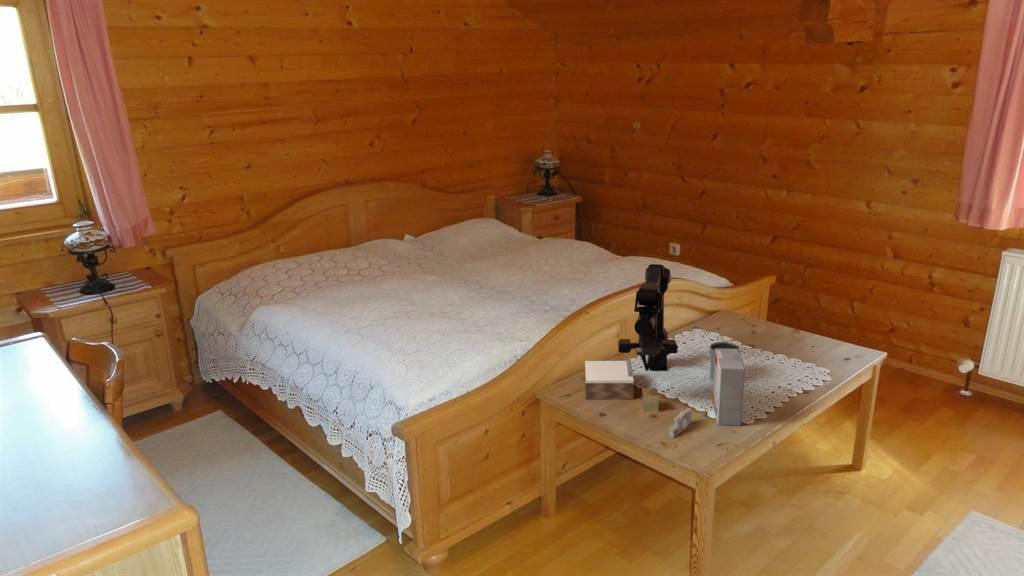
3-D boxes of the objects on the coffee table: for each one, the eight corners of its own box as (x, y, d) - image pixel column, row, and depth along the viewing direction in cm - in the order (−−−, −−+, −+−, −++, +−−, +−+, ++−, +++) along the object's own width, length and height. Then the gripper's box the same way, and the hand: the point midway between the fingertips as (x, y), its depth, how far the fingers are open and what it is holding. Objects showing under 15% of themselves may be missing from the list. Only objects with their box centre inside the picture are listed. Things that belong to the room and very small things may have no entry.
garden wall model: (673, 438, 217) (673, 421, 215) (668, 437, 218) (668, 419, 216) (692, 423, 225) (692, 406, 224) (687, 421, 227) (687, 405, 225)
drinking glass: (711, 384, 250) (713, 353, 246) (705, 372, 260) (706, 341, 256) (740, 383, 250) (743, 352, 246) (733, 371, 259) (735, 341, 256)
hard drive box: (711, 402, 238) (714, 347, 231) (735, 403, 236) (739, 348, 230) (716, 425, 223) (720, 367, 217) (742, 426, 222) (746, 368, 216)
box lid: (630, 363, 255) (630, 355, 254) (633, 383, 240) (633, 375, 239) (585, 363, 256) (585, 355, 256) (585, 383, 241) (585, 375, 240)
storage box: (629, 378, 257) (630, 363, 255) (633, 399, 242) (633, 383, 240) (585, 378, 258) (585, 363, 257) (585, 399, 243) (585, 383, 241)
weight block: (656, 404, 238) (657, 388, 236) (658, 411, 233) (658, 395, 231) (641, 404, 238) (641, 388, 236) (643, 411, 234) (643, 395, 232)
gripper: (619, 334, 222) (619, 380, 227) (680, 334, 220) (678, 380, 225) (618, 322, 233) (617, 366, 237) (676, 322, 231) (674, 367, 235)
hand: (646, 370), depth 233 cm, fingers closed
